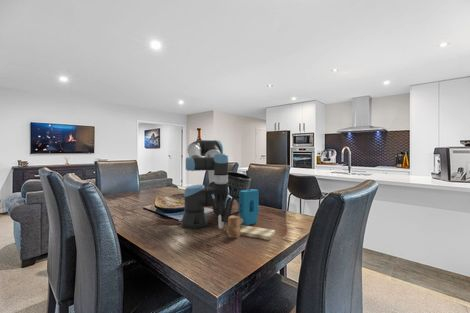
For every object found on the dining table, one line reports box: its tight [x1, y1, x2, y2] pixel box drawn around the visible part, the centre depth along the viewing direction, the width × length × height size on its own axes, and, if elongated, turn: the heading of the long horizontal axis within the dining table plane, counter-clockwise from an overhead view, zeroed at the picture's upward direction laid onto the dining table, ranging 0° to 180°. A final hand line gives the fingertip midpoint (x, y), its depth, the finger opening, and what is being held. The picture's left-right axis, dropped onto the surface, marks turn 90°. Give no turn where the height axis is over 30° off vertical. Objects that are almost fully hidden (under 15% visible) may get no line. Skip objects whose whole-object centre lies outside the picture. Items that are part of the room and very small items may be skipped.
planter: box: [226, 170, 252, 216], centre depth 159 cm, size 20×20×26 cm
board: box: [226, 224, 276, 241], centre depth 121 cm, size 24×10×2 cm, turn 65°
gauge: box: [227, 214, 243, 239], centre depth 119 cm, size 5×12×10 cm, turn 155°
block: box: [238, 188, 260, 226], centre depth 137 cm, size 12×5×20 cm, turn 125°
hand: (220, 227), depth 119 cm, fingers closed
